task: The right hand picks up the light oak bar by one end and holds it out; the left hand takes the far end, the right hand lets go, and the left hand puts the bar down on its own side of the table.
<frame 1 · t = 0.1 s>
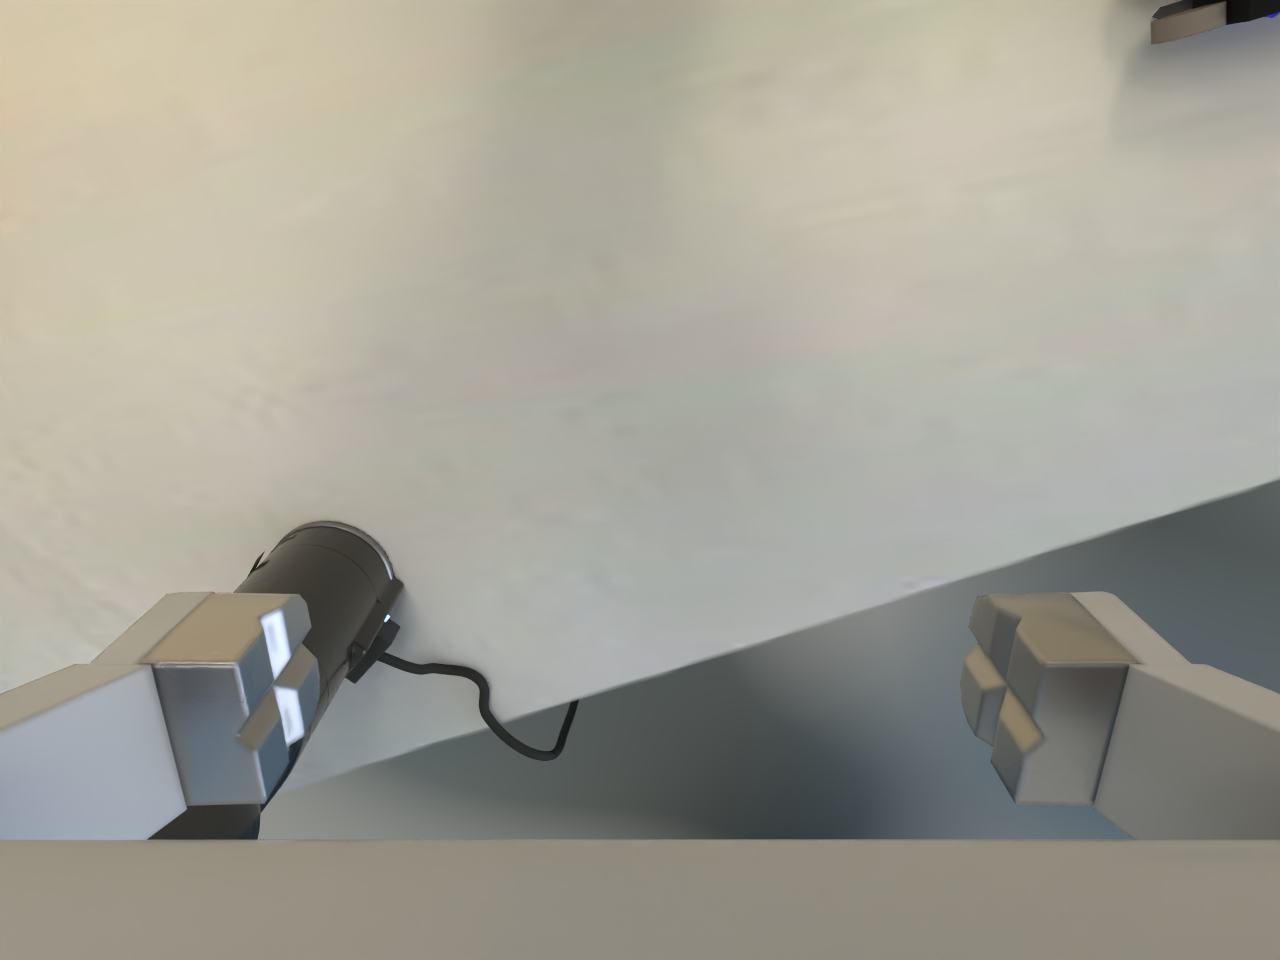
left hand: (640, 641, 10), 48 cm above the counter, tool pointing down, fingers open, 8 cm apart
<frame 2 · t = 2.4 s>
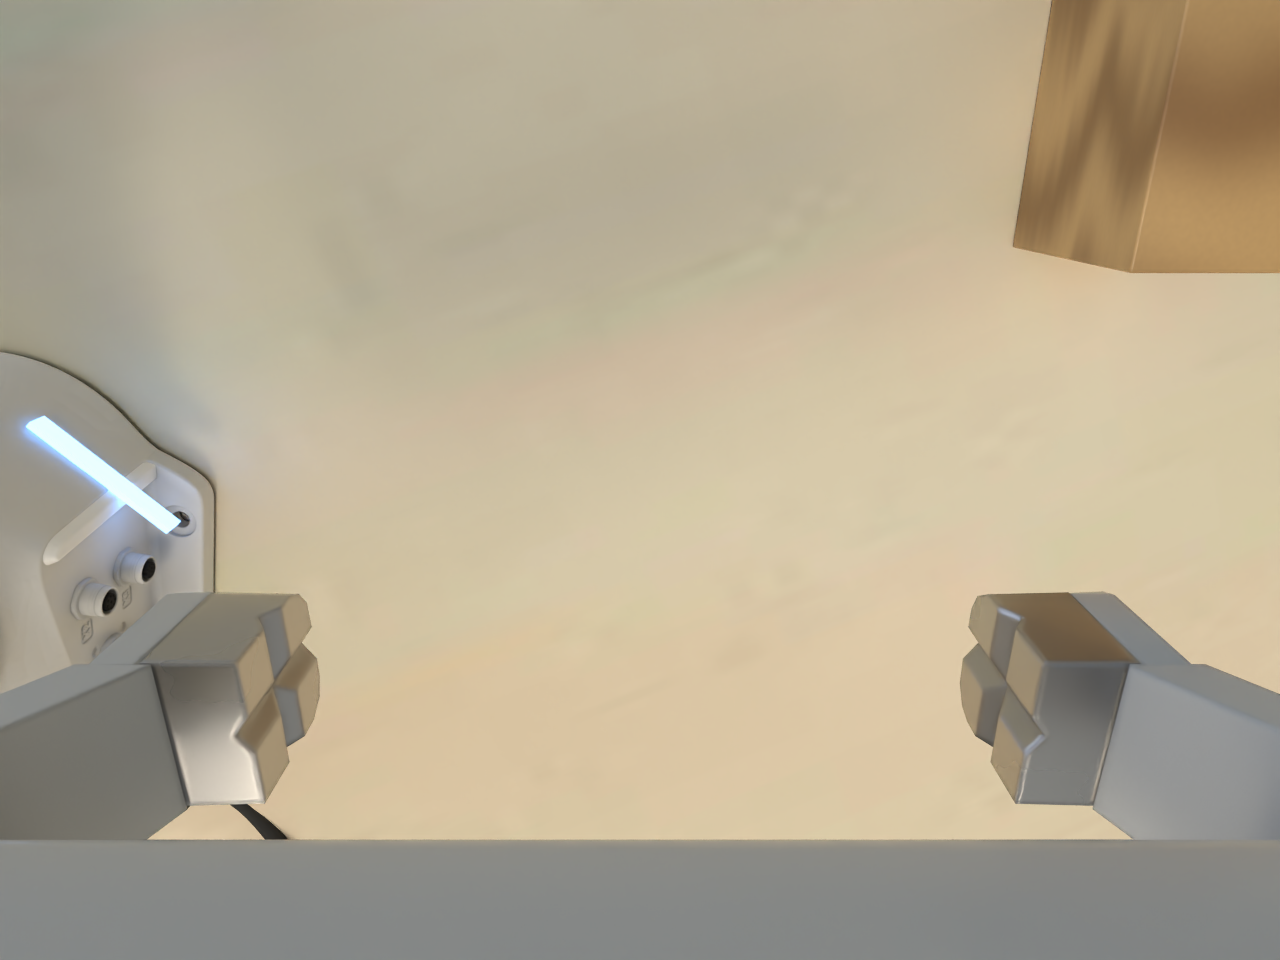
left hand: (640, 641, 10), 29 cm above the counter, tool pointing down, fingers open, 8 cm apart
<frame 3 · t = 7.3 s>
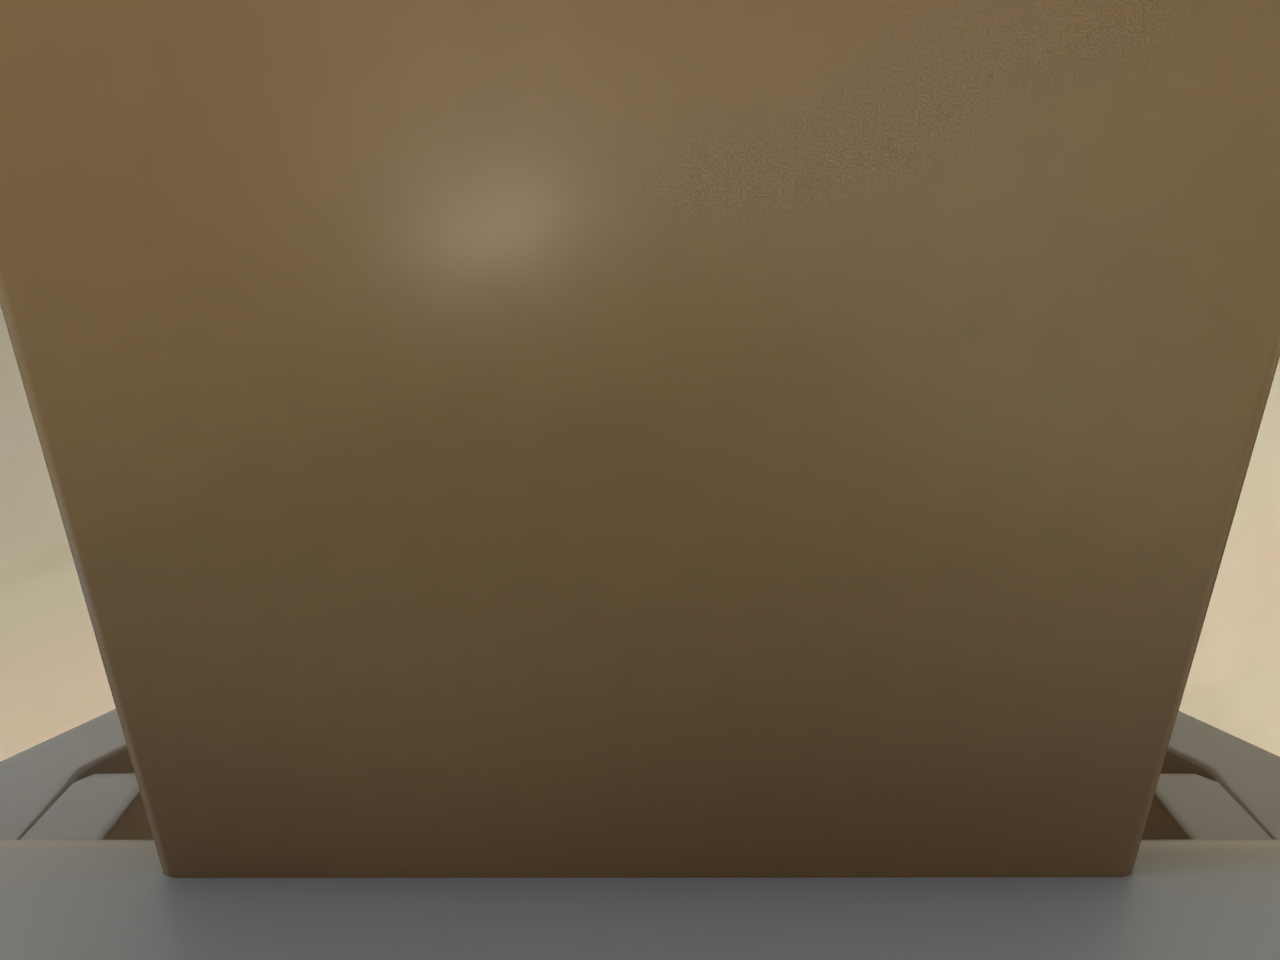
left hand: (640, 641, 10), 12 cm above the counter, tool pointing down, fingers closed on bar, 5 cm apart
when the right hand's fingers open (12 cm above the counter, at t = 8.4 s): bar stays where it is, held by the left hand.
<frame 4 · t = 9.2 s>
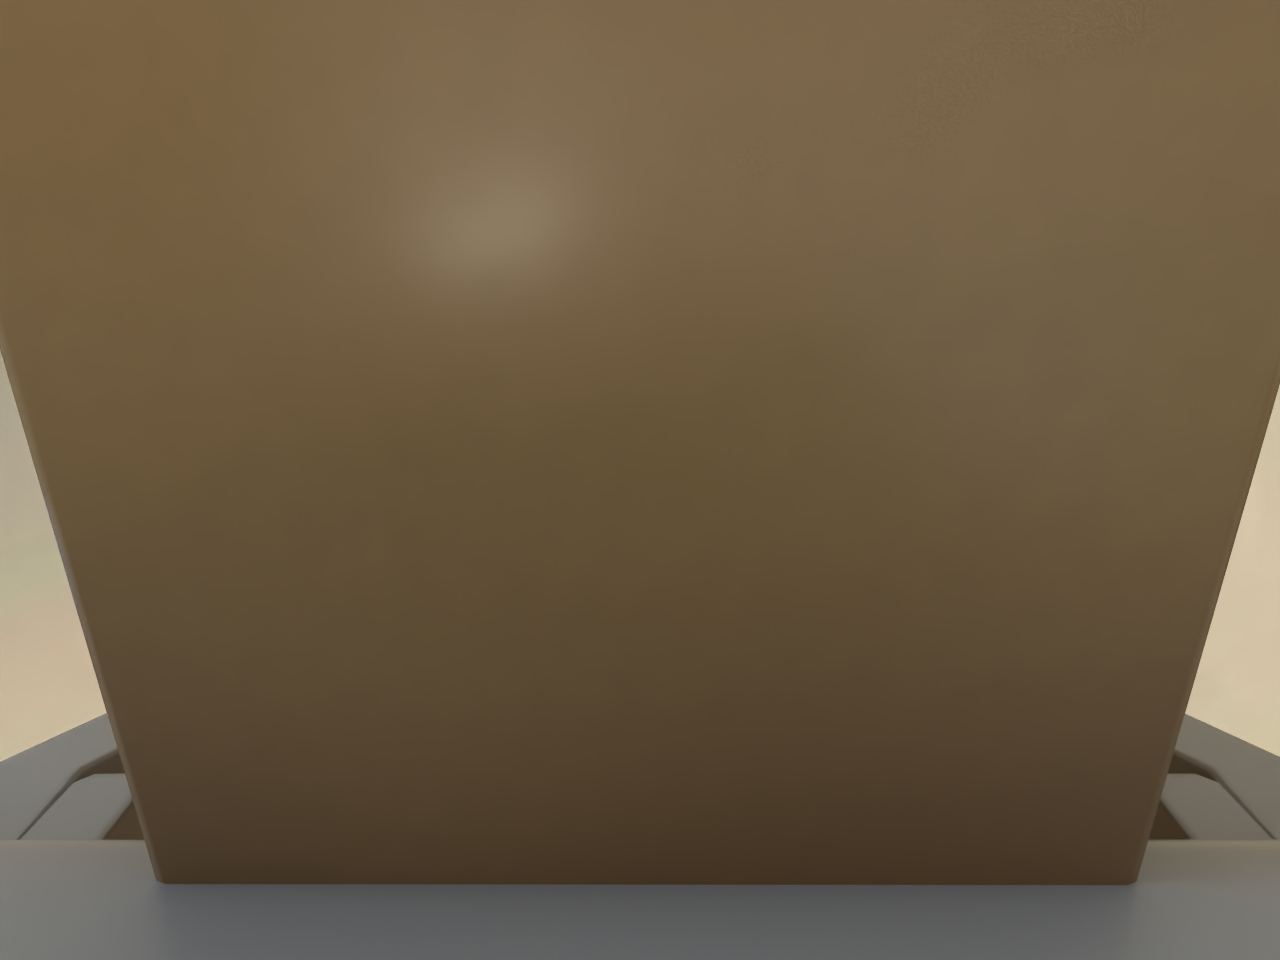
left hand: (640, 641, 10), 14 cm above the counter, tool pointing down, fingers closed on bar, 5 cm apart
when the left hand's fingers open (6 cm above the counter, at t = 12.3 s): bar drops 2 cm, on the counter.
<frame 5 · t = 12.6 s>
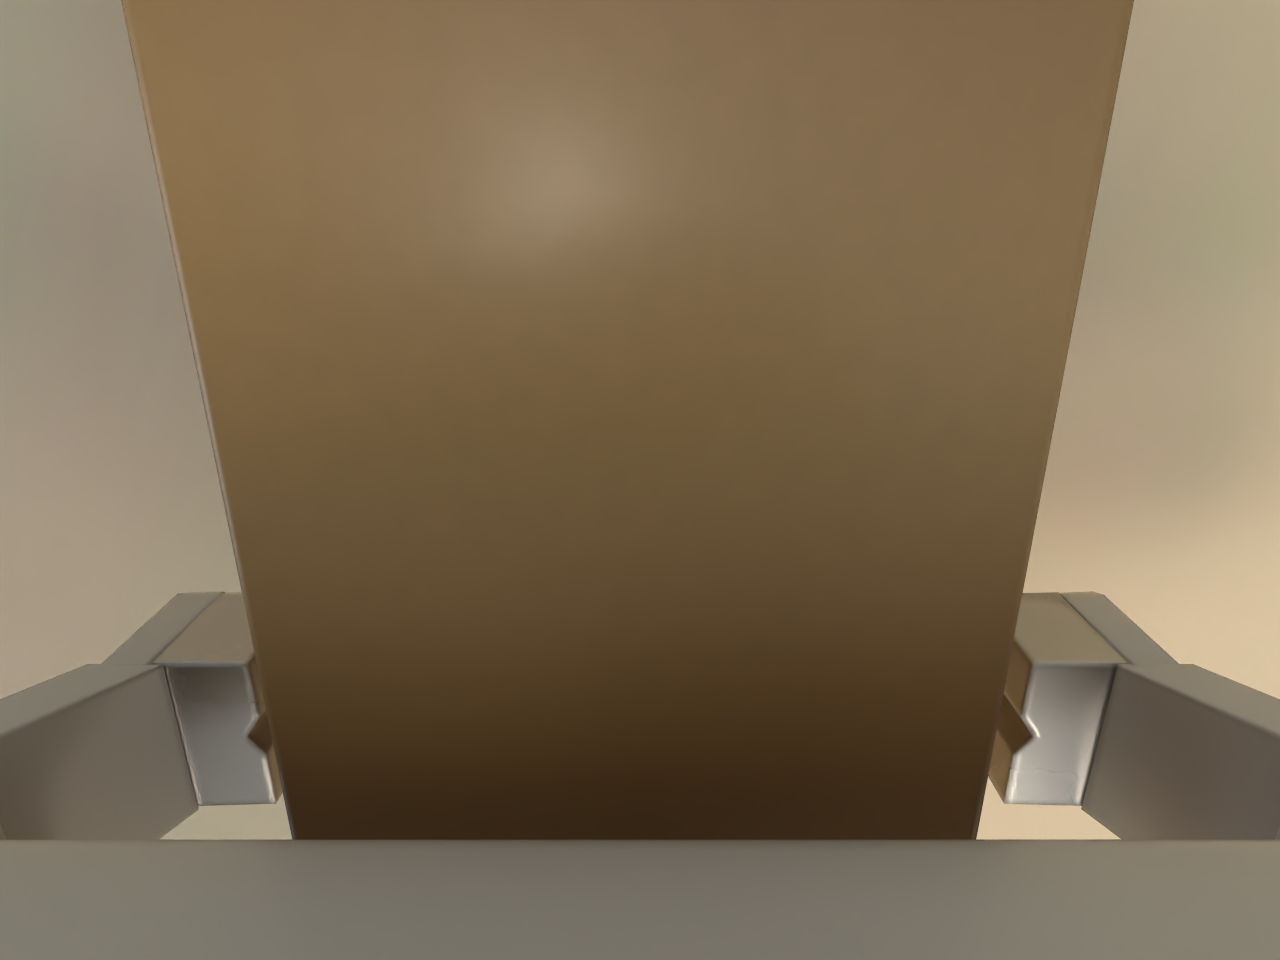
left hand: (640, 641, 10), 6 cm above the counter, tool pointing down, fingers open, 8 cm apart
bar: (635, 22, 13), on the counter
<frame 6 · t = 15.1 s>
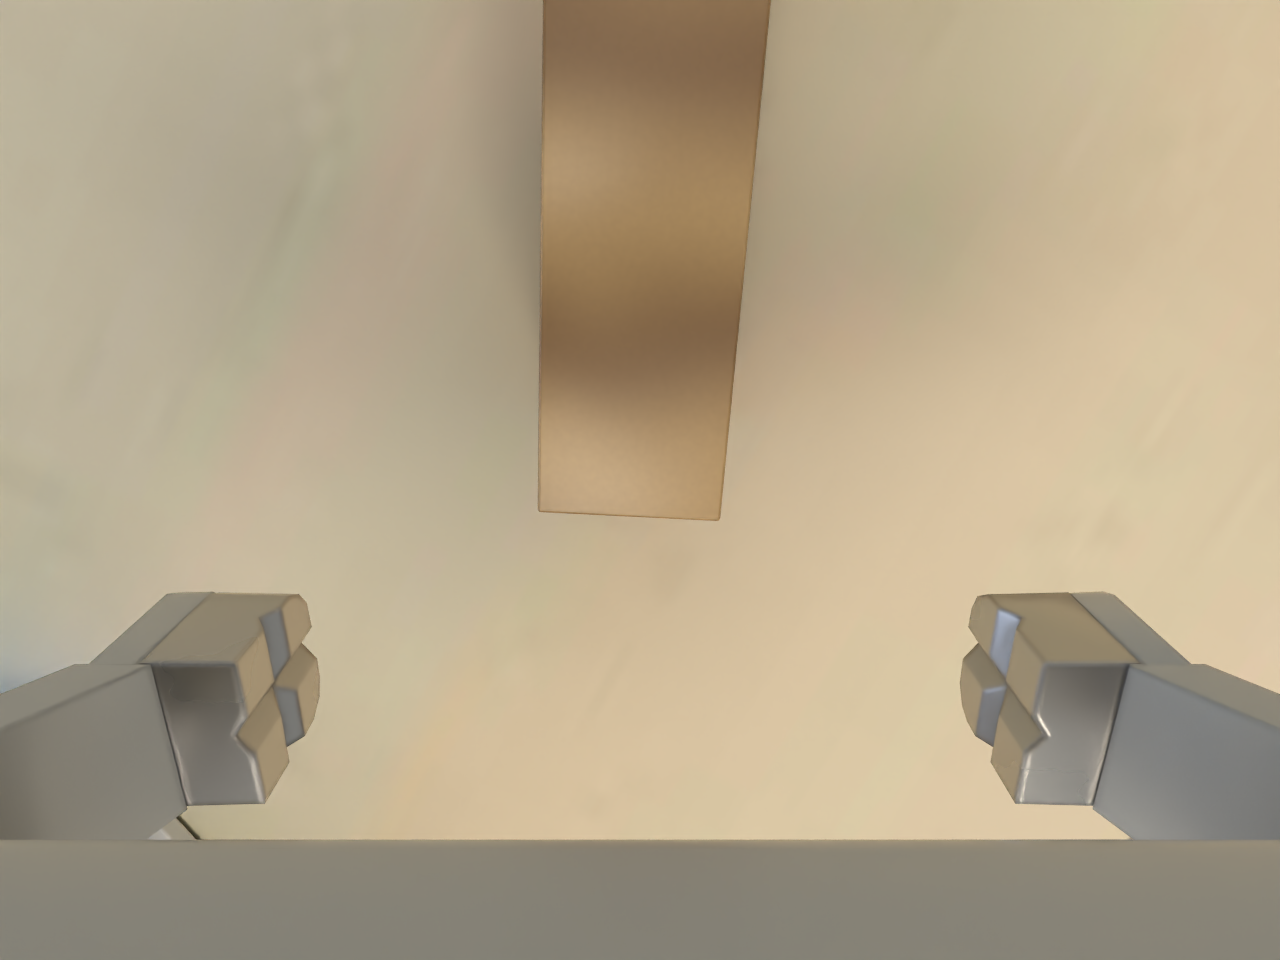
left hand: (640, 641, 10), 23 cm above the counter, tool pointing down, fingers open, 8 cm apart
bar: (648, 104, 29), on the counter
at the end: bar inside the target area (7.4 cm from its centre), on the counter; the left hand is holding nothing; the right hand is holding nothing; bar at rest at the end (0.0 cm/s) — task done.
